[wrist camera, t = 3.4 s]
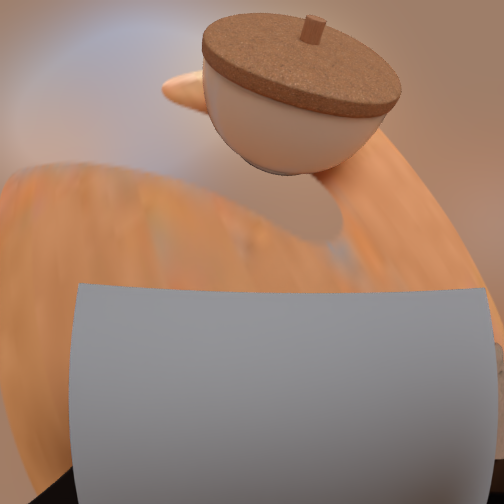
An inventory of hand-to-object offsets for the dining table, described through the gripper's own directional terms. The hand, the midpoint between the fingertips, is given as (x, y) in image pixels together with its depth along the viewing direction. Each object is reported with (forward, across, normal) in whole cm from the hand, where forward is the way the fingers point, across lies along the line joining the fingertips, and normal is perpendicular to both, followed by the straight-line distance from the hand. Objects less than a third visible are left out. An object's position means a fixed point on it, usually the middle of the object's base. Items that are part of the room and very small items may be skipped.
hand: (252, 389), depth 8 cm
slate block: (+4, 0, +6) cm, 7 cm away
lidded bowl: (+17, -3, -8) cm, 19 cm away
